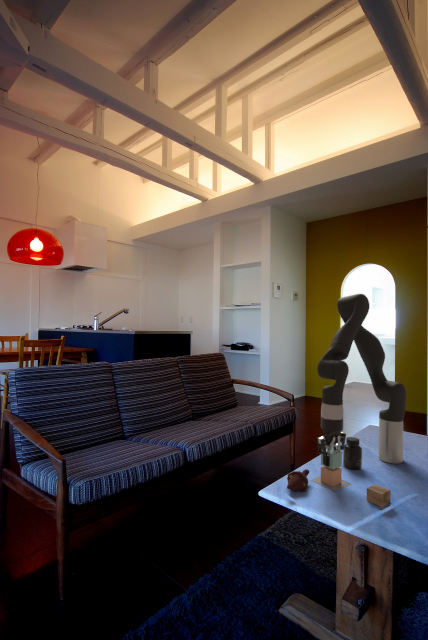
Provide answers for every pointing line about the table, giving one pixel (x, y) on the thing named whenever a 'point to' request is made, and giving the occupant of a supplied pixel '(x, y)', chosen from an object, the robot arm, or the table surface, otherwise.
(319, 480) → the plate
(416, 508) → the table surface
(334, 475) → the base brick
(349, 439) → the supplement bottle
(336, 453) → the teal brick
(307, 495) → the table surface
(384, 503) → the walnut brick
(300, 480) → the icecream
